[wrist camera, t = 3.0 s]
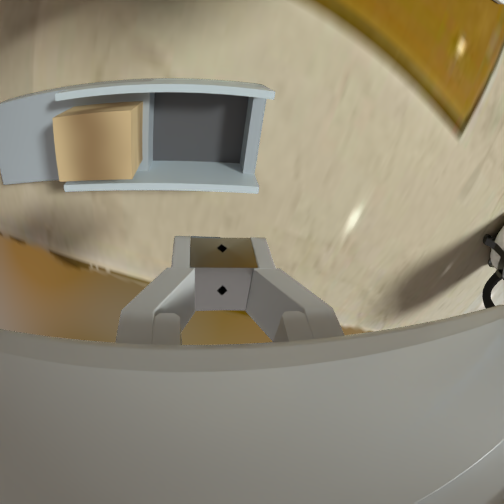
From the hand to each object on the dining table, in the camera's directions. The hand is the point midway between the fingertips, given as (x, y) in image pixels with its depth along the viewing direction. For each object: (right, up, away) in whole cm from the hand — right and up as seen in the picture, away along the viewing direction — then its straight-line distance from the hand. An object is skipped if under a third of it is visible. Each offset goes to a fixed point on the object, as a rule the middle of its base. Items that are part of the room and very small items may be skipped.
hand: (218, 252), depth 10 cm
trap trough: (-11, +11, +12) cm, 20 cm away
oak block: (-10, +10, +10) cm, 17 cm away
